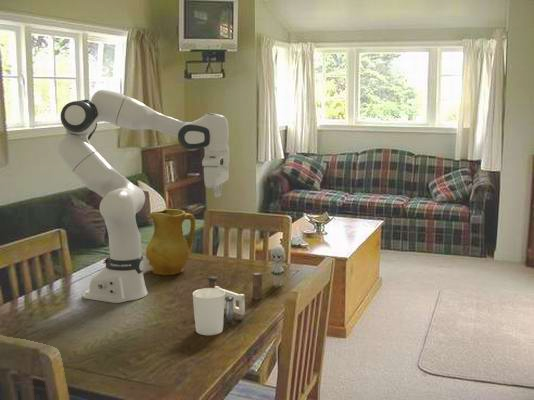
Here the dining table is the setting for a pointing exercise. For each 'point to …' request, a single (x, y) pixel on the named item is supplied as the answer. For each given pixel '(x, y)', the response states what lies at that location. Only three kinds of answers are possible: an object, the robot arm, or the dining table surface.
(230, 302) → the post
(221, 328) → the candle holder
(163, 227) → the pitcher
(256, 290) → the fence post
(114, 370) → the dining table surface
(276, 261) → the figurine
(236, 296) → the gate
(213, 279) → the hinge post
